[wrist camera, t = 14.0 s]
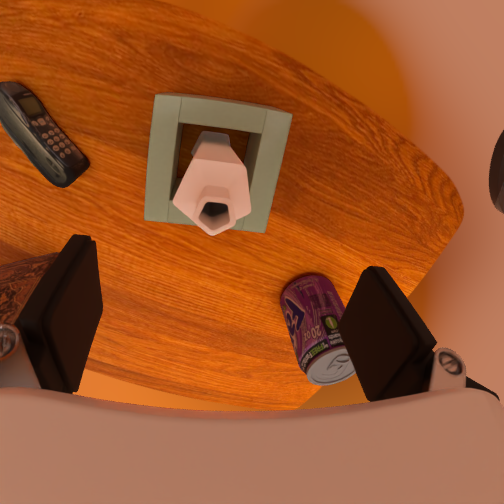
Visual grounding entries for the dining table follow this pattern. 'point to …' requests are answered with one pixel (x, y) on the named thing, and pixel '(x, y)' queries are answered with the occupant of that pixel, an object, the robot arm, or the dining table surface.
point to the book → (20, 284)
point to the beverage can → (316, 329)
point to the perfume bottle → (214, 185)
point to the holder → (224, 116)
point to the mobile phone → (39, 136)
